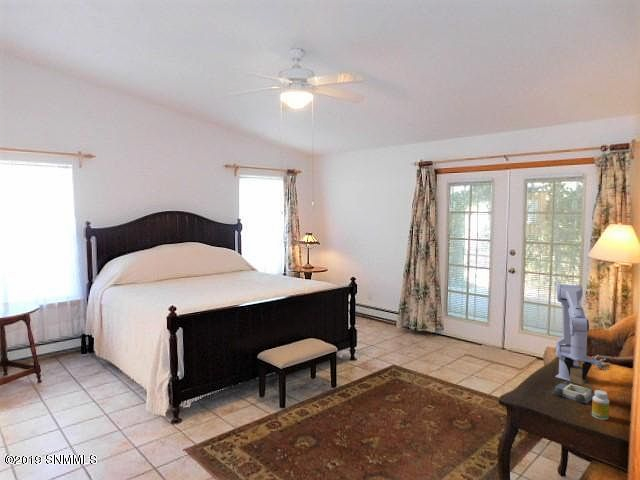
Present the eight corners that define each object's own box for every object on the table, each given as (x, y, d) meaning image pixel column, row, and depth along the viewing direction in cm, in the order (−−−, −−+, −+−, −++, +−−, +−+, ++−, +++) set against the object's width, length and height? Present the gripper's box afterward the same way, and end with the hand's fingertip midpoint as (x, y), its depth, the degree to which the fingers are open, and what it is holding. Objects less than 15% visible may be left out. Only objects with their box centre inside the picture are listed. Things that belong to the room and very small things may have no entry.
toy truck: (561, 386, 188) (561, 379, 188) (595, 396, 178) (595, 388, 178) (551, 394, 180) (551, 387, 180) (585, 404, 171) (585, 397, 170)
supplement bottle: (602, 421, 157) (603, 396, 156) (588, 415, 162) (589, 390, 161) (611, 418, 159) (612, 393, 159) (597, 412, 164) (598, 388, 164)
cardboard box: (573, 378, 181) (574, 365, 181) (585, 381, 178) (585, 367, 177) (569, 381, 178) (570, 367, 178) (581, 384, 175) (582, 370, 174)
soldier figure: (614, 368, 211) (607, 367, 204) (605, 373, 214) (598, 372, 206) (603, 355, 216) (596, 352, 209) (594, 359, 218) (587, 357, 211)
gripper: (556, 344, 180) (555, 375, 180) (595, 352, 169) (594, 385, 170) (562, 340, 184) (561, 370, 185) (600, 348, 173) (599, 380, 174)
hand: (577, 377), depth 178 cm, fingers closed on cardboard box, 4 cm apart
